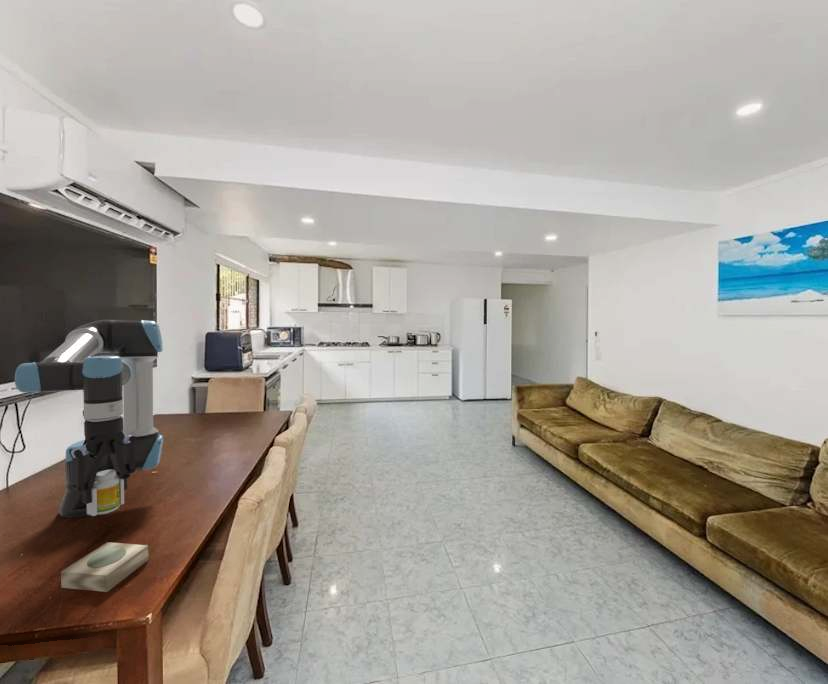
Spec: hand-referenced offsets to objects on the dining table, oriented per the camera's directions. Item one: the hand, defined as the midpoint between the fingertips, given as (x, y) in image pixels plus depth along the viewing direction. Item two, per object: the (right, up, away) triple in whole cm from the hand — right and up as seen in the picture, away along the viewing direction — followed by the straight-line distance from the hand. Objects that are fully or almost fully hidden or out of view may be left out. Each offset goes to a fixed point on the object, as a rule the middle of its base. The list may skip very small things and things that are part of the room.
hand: (106, 508), depth 93 cm
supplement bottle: (0, -1, 0) cm, 0 cm away
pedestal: (0, -17, +1) cm, 17 cm away
